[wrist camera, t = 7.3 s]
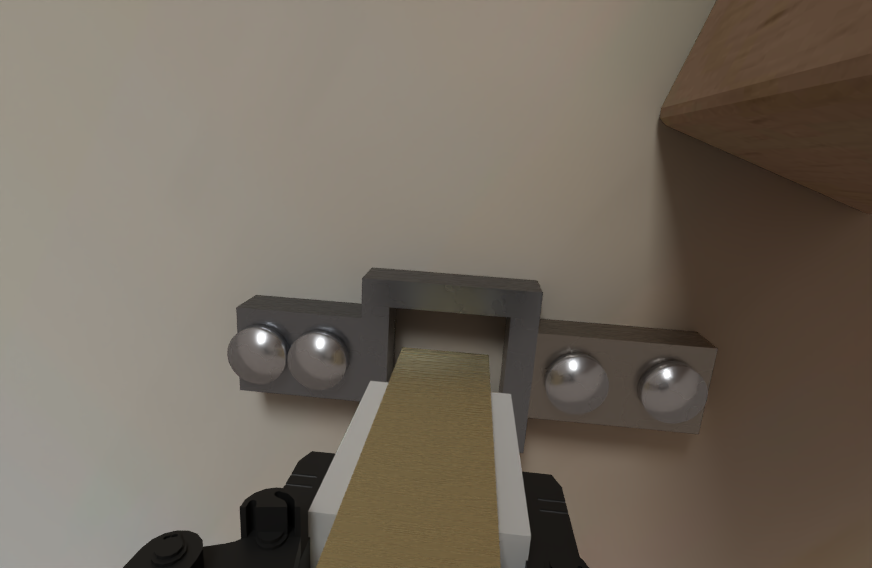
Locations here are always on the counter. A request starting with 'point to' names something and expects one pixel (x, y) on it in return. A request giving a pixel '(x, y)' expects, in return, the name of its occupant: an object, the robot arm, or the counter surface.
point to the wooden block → (785, 91)
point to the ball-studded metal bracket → (521, 363)
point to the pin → (424, 472)
